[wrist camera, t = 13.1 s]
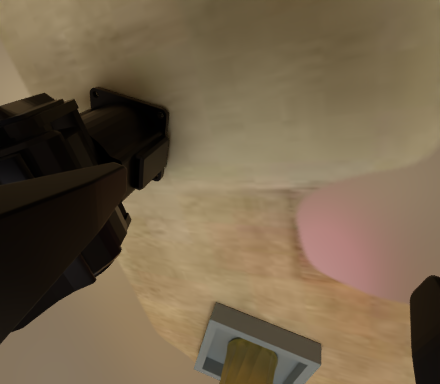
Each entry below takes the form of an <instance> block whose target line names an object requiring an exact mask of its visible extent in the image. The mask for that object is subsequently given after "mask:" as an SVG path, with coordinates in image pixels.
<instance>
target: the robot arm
mask: <svg viewBox="0 0 440 384" xmlns="http://www.w3.org/2000/svg"><path fill="white" fill-rule="evenodd" d="M96 92H97V93H98V95H99V96H97V94H96ZM90 101H91V109H89V110H87V111H85V112H82V113H80V114H79V112H78V110H77V109H78V105H77V103H76V101H75V99H72V100H68V101H64V100H63V99H59V100H54V99H53V98H51V97H50V96H49V95H47V94H46V93H42V94H38V95H35V96H32V97H29V98H25V99H21V100H18V101H15V102H12V103H8V104H5V105H2V106H0V344H1V343H2V342H3V340H4V339H5V338H6V337H7V336H8V335H9V334H10V332H13V331H16V330H19V329H21V328H23V327H25V326H26V325H27V324H29V323H30V322H31V321H32V320H34V319H35V318H36V317H38V316H39V315H40V314H41V313H43V312H44V311H45V310H47V309H48V308H49V307H51V306H52V305H53V304H55V303H56V302H58V301H59V300H61V299H62V298H64V297H66V296H68V295H69V294H71V293H73V292H74V291H77V290H79V289H81V288H84V287H86V286H88V285H91V284H93V283H94V282H95V281H96V278H95V277H96V276H98V275H99V274H101V273H102V272H104V271H105V270H106V269H107V268H108V267H109V266H110V265H111V264H112V262H113V261H114V259H116V258H117V256H118V255H119V254H120V252H121V250H122V248H121V244H122V242H123V240H124V238H125V236H126V234H127V229H128V227H129V224H130V222H131V218H130V215H129V213H126V211H125V208H124V206H123V204H122V201H123V200H125V199H126V198H127V197H128V196H129V195H130V194H131V193H132V192H133V191H134V190H135V189H137V190H141V189H143V188H144V187H145V186H146V185H147V184H148V183H149V182H150V181H151V180H154V181H159V180H161V178H162V177H163V170H164V167H165V166H166V165H167V155H168V146H169V138H168V136H167V130H168V120H169V113H168V111H167V110H166V109H165V108H163V107H160V106H157V105H154V104H151V103H147V102H144V101H141V100H138V99H135V98H132V97H128V96H125V95H122V94H119V93H116V92H113V91H109V90H106V89H103V88H100V87H95V88H92V89H91V90H90ZM160 112H161V113H163V116H164V117H162V116H161V115H160ZM156 175H158V177H157V176H156ZM410 321H411V348H412V359H413V367H414V374H415V381H416V384H440V277H438V276H435V275H431V276H429V277H427V278H426V279H425V280H424V281H423V282H422V283H421V284H420V285H419V286H418V287H417V288H416V289H415V290H414V291H413V293H412V295H411V297H410Z"/></svg>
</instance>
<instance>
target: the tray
mask: <svg viewBox="0 0 440 384" xmlns="http://www.w3.org/2000/svg"><path fill="white" fill-rule="evenodd" d="M238 338H243V339H245V340H248V341H250V342H252V343H255V344H257V345H260V346H262V347H264V348H267V349H269V350H272V351H274V353H275V354H276V356H277V358H278V364H277V367H276V370H275V374H274V380H273V384H305V383H306V382H307V380H308V379H309V378H310V377H311V376H312V375H313V374H314V373H315V371H316V370H317V369H318V368H319V367H320V366H321V344H319V343H317V342H314V341H312V340H309V339H307V338H304V337H302V336H299V335H297V334H294V333H292V332H289V331H287V330H284V329H282V328H279V327H277V326H274V325H272V324H269V323H267V322H264V321H262V320H259V319H257V318H254V317H252V316H249V315H247V314H244V313H242V312H239V311H237V310H234V309H232V308H229V307H227V306H224V305H222V304H220V303H217V302H216V304H215V307H214V310H213V312H212V315H211V318H210V321H209V324H208V327H207V330H206V333H205V336H204V339H203V342H202V345H201V348H200V351H199V354H198V357H197V360H196V363H195V367H194V369H195V370H197V371H199V372H201V373H204V374H206V375H208V376H211V377H213V378H215V379H217V380H220V379H221V374H222V370H223V366H224V362H225V358H226V353H227V345H228V343H229V342H230V341H232V340H234V339H238Z"/></svg>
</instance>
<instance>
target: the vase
mask: <svg viewBox="0 0 440 384" xmlns="http://www.w3.org/2000/svg"><path fill="white" fill-rule="evenodd" d="M277 364H278V358H277V356H276V354H275V353H274V351H272V350H269V349H267V348H264V347H262V346H260V345H257V344H255V343H252V342H250V341H248V340H245V339H243V338H238V339H234V340H232V341H230V342H229V343H228V345H227V353H226V358H225V362H224V366H223V370H222V374H221V379H220V384H273V380H274V374H275V370H276V367H277Z"/></svg>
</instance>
